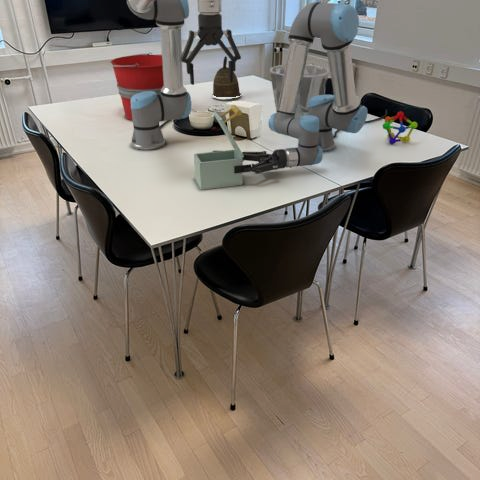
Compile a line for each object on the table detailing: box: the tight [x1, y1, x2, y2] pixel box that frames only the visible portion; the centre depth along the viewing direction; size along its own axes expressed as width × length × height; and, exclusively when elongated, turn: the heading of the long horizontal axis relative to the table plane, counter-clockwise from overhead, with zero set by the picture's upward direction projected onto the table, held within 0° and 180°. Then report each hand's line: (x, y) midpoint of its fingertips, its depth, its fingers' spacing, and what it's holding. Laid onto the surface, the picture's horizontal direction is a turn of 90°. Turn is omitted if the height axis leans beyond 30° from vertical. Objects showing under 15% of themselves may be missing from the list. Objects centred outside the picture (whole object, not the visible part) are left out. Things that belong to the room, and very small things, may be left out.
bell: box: [212, 55, 242, 97], centre depth 278 cm, size 19×26×20 cm
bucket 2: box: [269, 64, 330, 119], centre depth 226 cm, size 30×30×28 cm
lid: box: [212, 104, 244, 158], centre depth 163 cm, size 17×10×8 cm
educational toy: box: [382, 110, 418, 145], centre depth 207 cm, size 16×13×15 cm
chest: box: [193, 149, 244, 191], centre depth 169 cm, size 16×10×11 cm, turn 107°
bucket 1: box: [107, 51, 164, 122], centre depth 239 cm, size 35×35×30 cm
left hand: (211, 82), depth 152 cm, fingers open, 13 cm apart
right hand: (230, 164), depth 170 cm, fingers closed on chest, 10 cm apart
